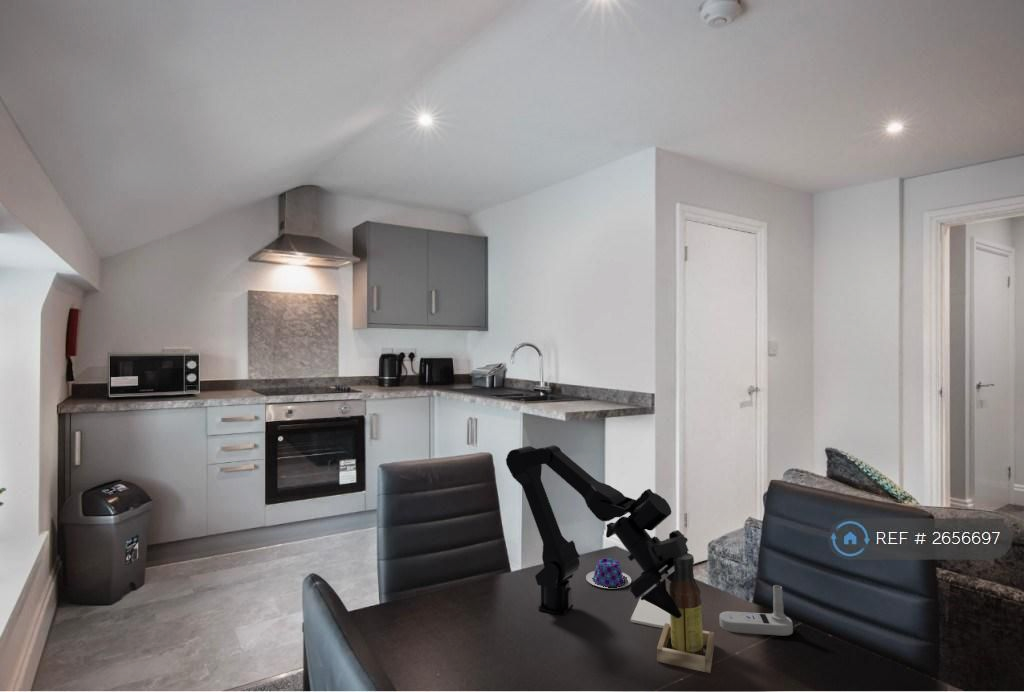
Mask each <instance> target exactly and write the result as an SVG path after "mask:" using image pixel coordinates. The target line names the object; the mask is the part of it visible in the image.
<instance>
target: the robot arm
mask: <svg viewBox="0 0 1024 692" xmlns="http://www.w3.org/2000/svg"><path fill="white" fill-rule="evenodd" d="M506 455H507V456H506V458H505V463H506V466H507V469H508V470H509V473H510V474H511V476H512V478H514V479H515V481H516V482H517V483H518V484H520V485H521V487H522V489H523V491H524V494H525V498H526V500H527V503H528V505H529V509H530V511H531V514H532V516H533V519H534V522H535V526H536V527H537V531H538V533H539V536H540V539H541V541H542V555H541V556H542V564H543V568H542V569H541V570H540V571H538V573H536V574H535V576H534V577H535V581H536V585H537V586H540V604H539V606H538V611H543V612H546V613H551V614H557V615H562V616H564V615H565V614H567V611H568V610H569V609H570V608H571V606H572V605H573V604H572V600H573V599H572V598H573V597H572V596H573V595H572V593H573V592H572V587H570V579H573V576H574V575H575V573H576V572H577V571H578V570H579V566H580V559H579V558H580V557H581V555H580V554H579V553H578V550H577V548H576V543H575V542H574V540H570V541H568V540H567V539H566V538H565V537H564V536H563V534H562V532H561V529H560V527H559V523H558V521H557V519H556V515H555V513H554V510H553V509H552V504H551V502H550V499H549V498H548V495H547V493H546V489H545V486H544V484H543V481H542V470H543V466H542V465H546V466H547V467H549V468H550V469H551V470H552V471H553V472H554V473H556V475H558V476H559V477H560V478H561V479H562V480H563V481H565V482H566V483H567V484H568V485H569V486H570V487H571V488H573V490H575V491H576V492H578V494H579V495H580V496H581V497H582V498H583V500H584V501H585V504H586V506H587V508H588V509H589V510H590V512H591V513H592V514H593V515H594V516H595V517H596V518H597V519H598V520H599V521H600V522H609V521H612V520H613V519H616V518H618V519H617V520H616V521H615V522H609V523H607V524H606V534H605V537H606V538H608V539H609V538H610V537H612V536H614V535H615V536H616V537H617V538H618V539H619V541H620V542H621V544H622V545H623V546H624V547H625V549H626V550H627V552H629V555H628V556H627V558H628V559H629V560H630V562H632V561H633V560H635V562H636V564H637V565H638V566H639V568H640V569H641V570H642V572H641V573H640V576H638V577H637V578H636V579H635V580H633V581H631V583H630V584H629V592H630V593H631V595H632V596H633V597H634V599H635V600H637V599H638V598H639V597H642V598H639V599H641V600H645V601H647V602H649V603H651V604H653V605H655V606H657V607H659V608H661V609H662V610H664V611H666V612H667V613H669V614H671V615H673V616H674V617H676V618H678V619H679V618H680V617H681V616H682V614H681V612H680V611H679V609H678V607H677V606H676V604H675V603H674V601H673V600H672V598H671V596H670V592H668V590H667V581H666V579H667V580H668V581H670V582H671V581H672V580H673V578H674V572H675V570H674V562H673V557H674V558H677V557H680V556H682V555H684V553H685V552H686V553H689V547H688V546H687V542H688V540H689V539H688V538H687V537H685V535H684V534H683V533H682V532H681V531H680V530H678V529H677V530H673V531H672V532H670V533H668V534H669V536H668V538H666V539H664V540H660V538H658V537H657V536H655V535H654V536H651V535H650V534H649V533H648V532H647V531H653V530H654V529H656V528H657V527H658V526H659V525H660V524H661V523H663V521H665V520H667V518H668V517H669V516H670V515H671V514H672V509H671V506H670V504H669V503H668V501H667V500H666V498H664V497H663V496H661V495H659V494H658V493H655V492H653V491H652V490H651V488H648V489H646V490H644V491H643V492H641V494H640V496H639V497H638V498H637V499H634V498H631V497H628V496H625V495H624V494H623V493H622V492H621V491H619V490H618V489H616V487H615V488H614V487H612V486H611V485H610V484H607V483H604V482H601V481H598V480H597V479H595V477H593V476H591V475H590V474H589V473H588V472H587V471H586V470H584V469H583V468H582V467H581V466H579V465H578V464H577V463H576V461H574V460H573V459H571V458H570V457H569V456H568V455H567V454H565V453H564V452H563V451H562V449H561V448H560V447H559V446H557V445H550V446H546V447H545V446H544V447H539V448H536V447H533V446H531V445H527V446H523V447H519V448H516V449H511V450H510V451H508V453H507V454H506ZM626 514H629V515H628V516H625V515H626ZM664 574H665V575H667V576H666V577H665V578H664V579H662V577H663V575H664Z"/></svg>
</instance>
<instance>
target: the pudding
mask: <svg viewBox="0 0 1024 692" xmlns="http://www.w3.org/2000/svg"><path fill="white" fill-rule="evenodd" d="M596 562H597V563H596V567H595V570H593V571H590V572H588V573H587V574H586V576H585V578H586V579H585V580H586V581H587V582H588V583H589V584H590V585H593V586H596V587H598V588H602V589H609V588H608V587H605V586H611V587H613V586H617V588H616V589H621V588H625V587H627V586H630V584H631V583H632V578H631V576H630V575H628V574H626V573H625V572H622V568H621V564H620V562H619V561H618V560H616V559H614V558H608V557H605V558H600V559H599V560H598V561H596ZM622 575H623V576H625V577H627V580H628V583H627V584H626V585H625V586H622V587H618V585H619V584H620V585H623V584H624V583H623V582H624V579H623V576H622ZM592 578H593V579H592ZM595 581H596V582H595ZM595 583H596V584H595ZM622 583H623V584H622ZM597 584H599V585H597ZM620 585H619V586H620ZM603 586H604V587H603ZM610 589H615V588H610Z"/></svg>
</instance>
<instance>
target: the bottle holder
mask: <svg viewBox="0 0 1024 692" xmlns="http://www.w3.org/2000/svg"><path fill="white" fill-rule="evenodd" d="M669 639H671V624H667V623H665V625H664V628H662V631H661V634H660V638H659V640H658V644H657V647H656V662H658V663H662V664H663V663H664V664H668V665H671V666H676V667H681V668H684V669H685V668H686V669H688V670H689V669H690V670H694V671H698V672H704V673H708V674H711V671H712V663H713V657H714V656H713V655H714V649H715V648H714V647H715V632H714V631H710V630H709V631H707V630H703V646H706V650H705V655H703V654H702V655H697V654H692V653H687V652H683V651H678V650H673V648H667V647H668V644H669Z"/></svg>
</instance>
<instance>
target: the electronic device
mask: <svg viewBox="0 0 1024 692" xmlns="http://www.w3.org/2000/svg"><path fill="white" fill-rule="evenodd" d="M772 589H773V590H772V591H773V592H772V593H773V600H772V607H773V609H772V610H773V611H772V613H763V612H762V613H761V612H747V611H745V612H744V611H731V610H727V611H723V612H720V613H719V619H718V620H719V626H720V628H721V629H723V630H725V631H727V632H731V633H737V634H739V633H740V634H749V635H750V634H751V635H765V636H766V635H767V636H769V635H770V636H781V637H782V636H785V637H787V636H790V635H792V634H793V633H794V627H793V623H794V622H793V620H792V619H791V618H790V617H788V616H787V615H786V614H785V612H784V600H783V587H782V586H781V585H778V584H774V585H773V586H772Z"/></svg>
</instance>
